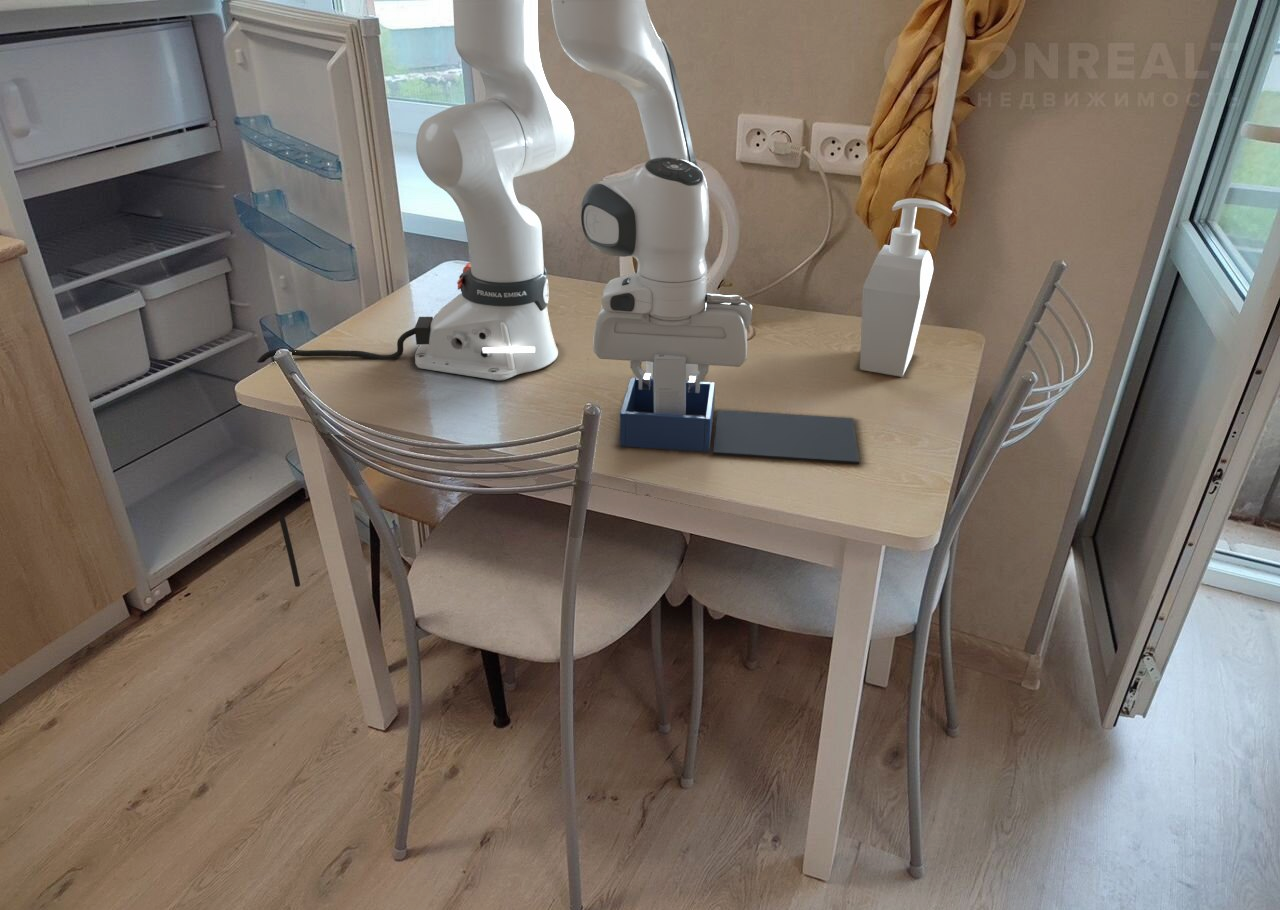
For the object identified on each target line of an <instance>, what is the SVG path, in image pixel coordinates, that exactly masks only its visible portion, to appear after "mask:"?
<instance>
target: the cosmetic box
mask: <svg viewBox="0 0 1280 910" xmlns="http://www.w3.org/2000/svg"><path fill="white" fill-rule="evenodd" d="M653 391H654V412H653V413H658V414H674V415H687V414H686V357H684V356H676V355H655V356H654V362H653Z"/></svg>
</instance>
